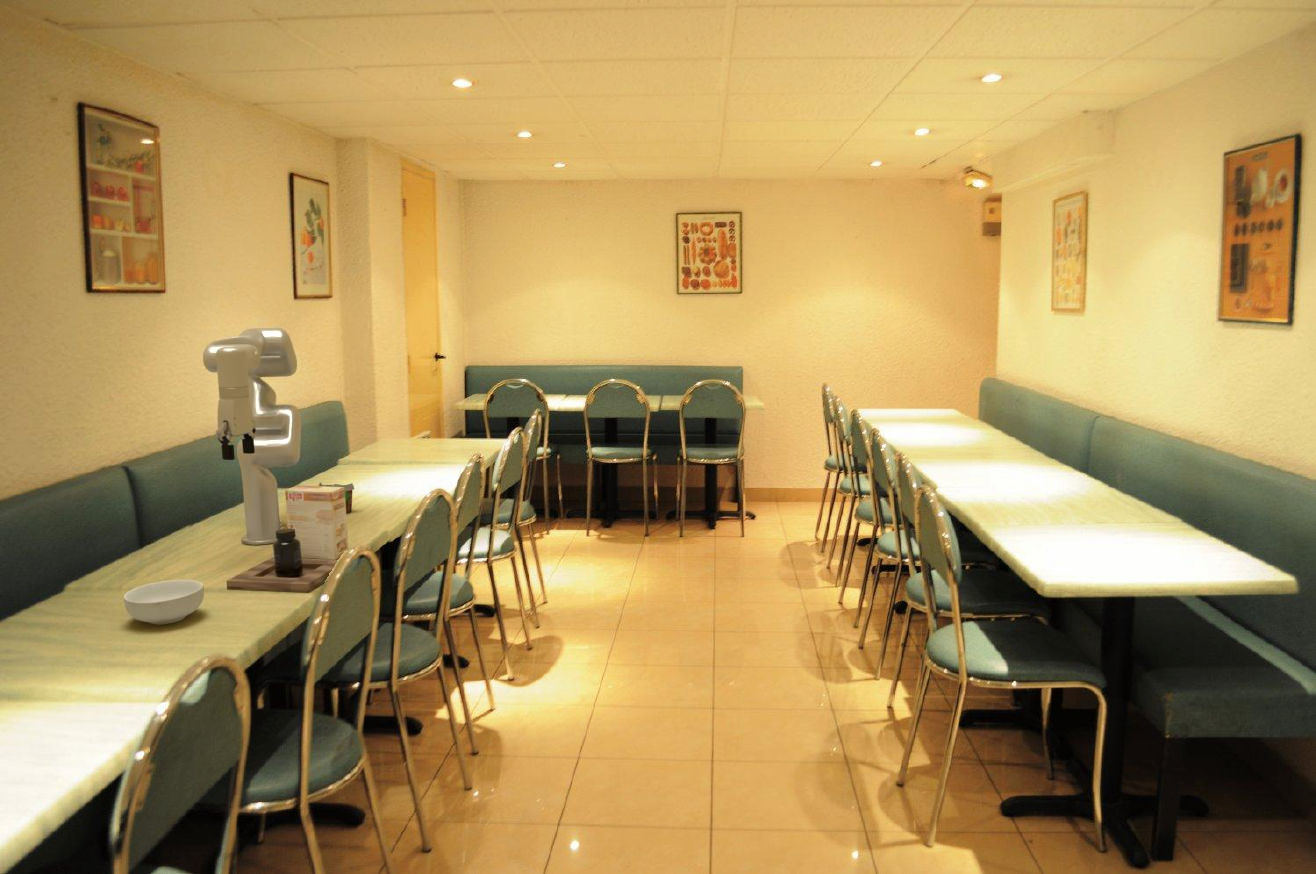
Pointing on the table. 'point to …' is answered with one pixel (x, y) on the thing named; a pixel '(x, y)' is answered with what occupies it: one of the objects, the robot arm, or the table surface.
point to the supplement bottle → (287, 554)
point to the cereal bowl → (164, 601)
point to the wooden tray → (266, 578)
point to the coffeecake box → (318, 520)
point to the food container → (347, 494)
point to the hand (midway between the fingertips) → (238, 456)
